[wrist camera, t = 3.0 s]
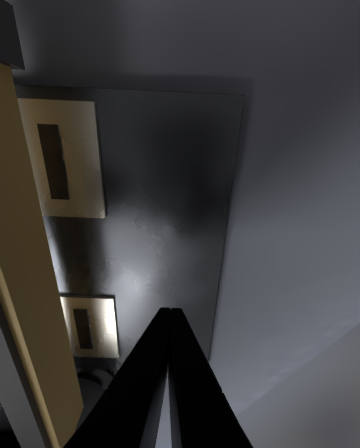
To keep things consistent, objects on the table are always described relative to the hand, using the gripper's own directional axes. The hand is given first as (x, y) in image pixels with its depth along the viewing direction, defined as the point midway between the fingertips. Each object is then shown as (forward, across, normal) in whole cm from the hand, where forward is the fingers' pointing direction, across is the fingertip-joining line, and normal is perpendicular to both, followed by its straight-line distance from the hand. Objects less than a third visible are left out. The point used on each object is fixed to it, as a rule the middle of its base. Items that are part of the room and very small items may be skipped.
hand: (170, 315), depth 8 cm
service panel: (+4, +6, +3) cm, 8 cm away
